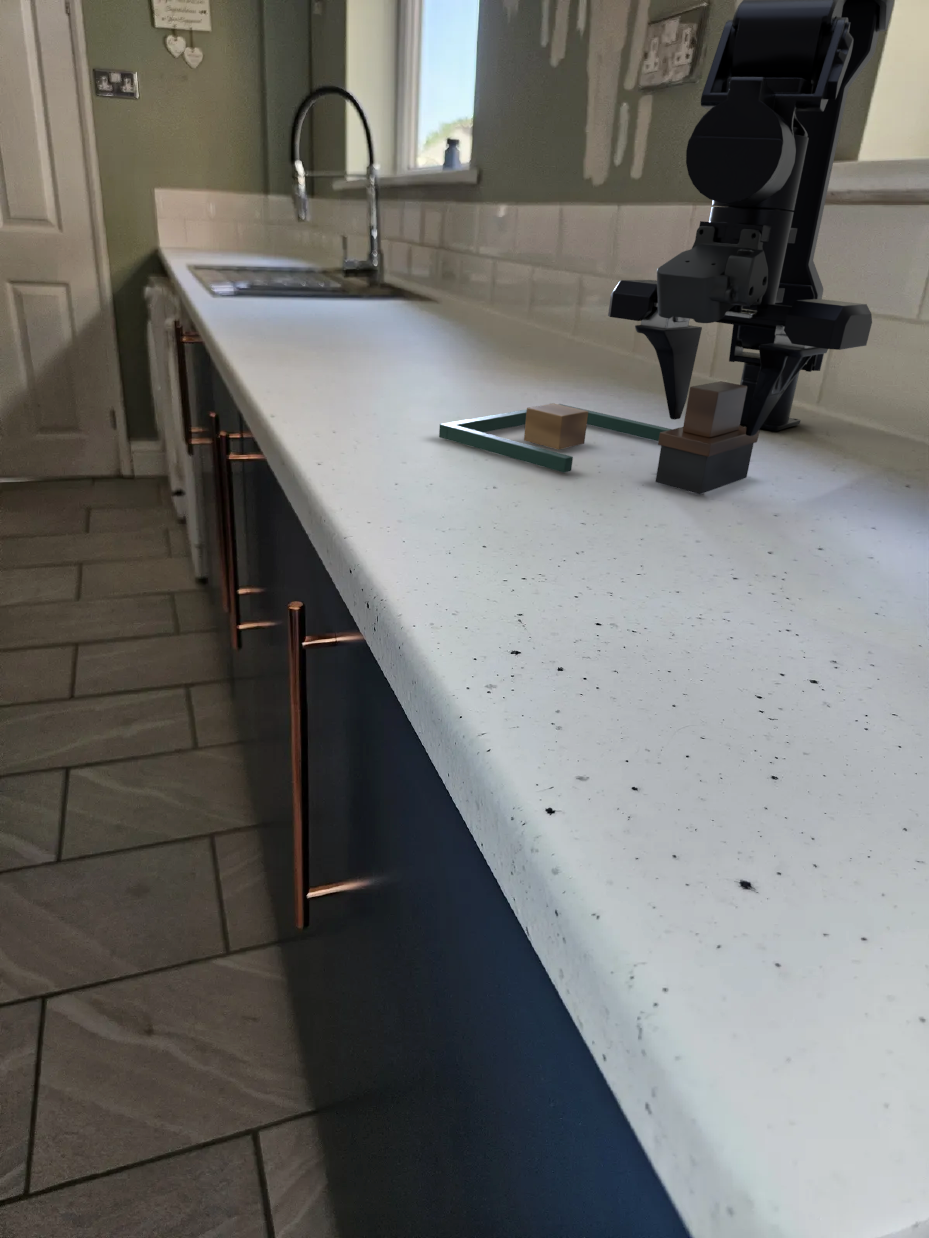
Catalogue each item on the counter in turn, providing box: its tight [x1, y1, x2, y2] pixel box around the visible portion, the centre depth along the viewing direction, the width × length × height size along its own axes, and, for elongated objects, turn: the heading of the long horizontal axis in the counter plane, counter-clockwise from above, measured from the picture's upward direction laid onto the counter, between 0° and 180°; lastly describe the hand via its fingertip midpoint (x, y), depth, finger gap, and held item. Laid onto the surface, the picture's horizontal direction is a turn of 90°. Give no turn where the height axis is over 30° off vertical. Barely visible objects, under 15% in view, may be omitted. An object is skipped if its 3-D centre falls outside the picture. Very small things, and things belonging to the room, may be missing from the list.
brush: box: [655, 380, 760, 495], centre depth 69 cm, size 8×4×8 cm, turn 138°
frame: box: [438, 403, 673, 474], centre depth 80 cm, size 18×14×1 cm
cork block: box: [523, 402, 588, 451], centre depth 79 cm, size 4×4×3 cm
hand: (711, 426), depth 69 cm, fingers open, 6 cm apart
